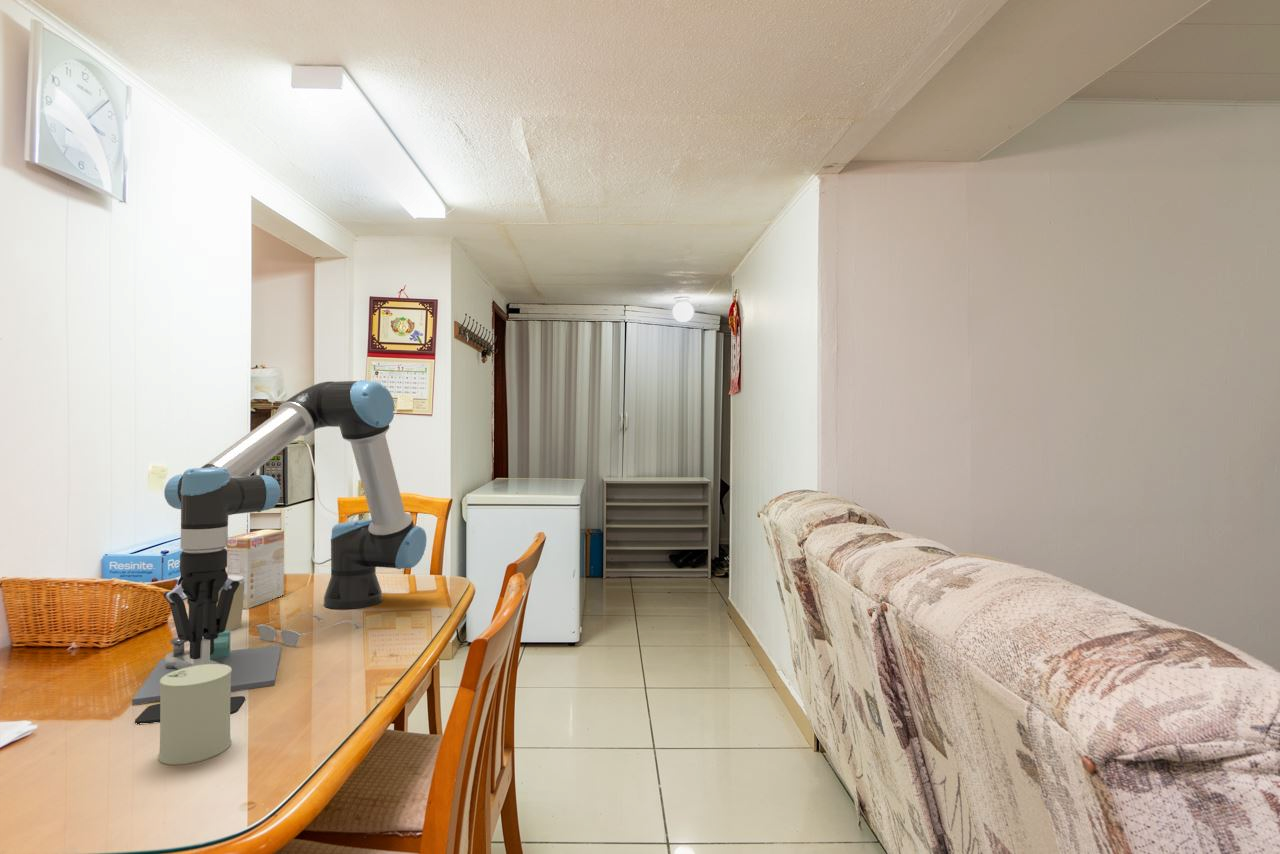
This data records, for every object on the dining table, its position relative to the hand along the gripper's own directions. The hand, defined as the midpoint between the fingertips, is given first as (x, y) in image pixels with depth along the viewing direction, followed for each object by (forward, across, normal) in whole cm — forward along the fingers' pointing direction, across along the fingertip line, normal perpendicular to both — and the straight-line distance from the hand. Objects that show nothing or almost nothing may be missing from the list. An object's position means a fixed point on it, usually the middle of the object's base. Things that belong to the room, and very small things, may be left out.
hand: (201, 674), depth 125 cm
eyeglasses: (+3, -32, -11) cm, 35 cm away
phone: (+3, +7, +9) cm, 12 cm away
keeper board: (+2, -5, -4) cm, 7 cm away
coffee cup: (+2, -25, -34) cm, 42 cm away
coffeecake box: (+2, -45, -50) cm, 67 cm away
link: (+1, -3, -7) cm, 8 cm away
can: (+3, +15, +24) cm, 29 cm away
